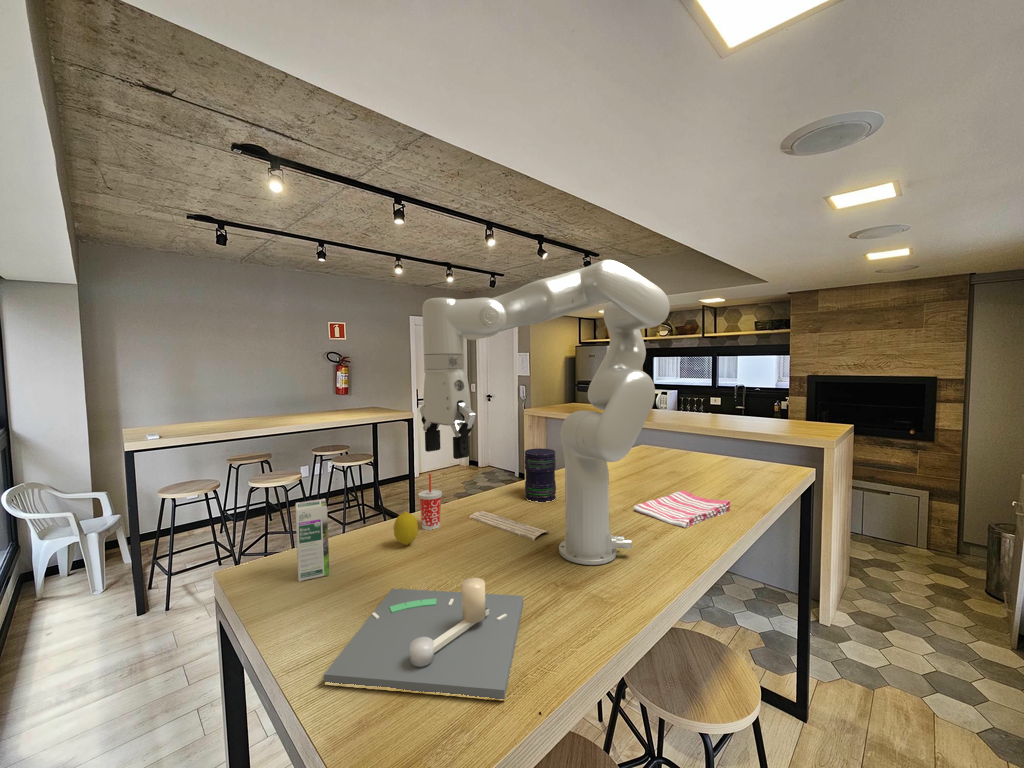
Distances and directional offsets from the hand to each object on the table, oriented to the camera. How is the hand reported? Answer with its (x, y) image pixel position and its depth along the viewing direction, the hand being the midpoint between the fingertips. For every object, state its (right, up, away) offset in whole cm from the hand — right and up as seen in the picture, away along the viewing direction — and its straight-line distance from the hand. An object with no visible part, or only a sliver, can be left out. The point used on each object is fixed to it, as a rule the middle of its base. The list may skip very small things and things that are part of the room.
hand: (446, 454), depth 82 cm
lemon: (-12, -25, +19) cm, 33 cm away
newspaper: (+12, -25, +31) cm, 41 cm away
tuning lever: (+4, -24, -19) cm, 31 cm away
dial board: (+1, -26, -16) cm, 30 cm away
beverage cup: (-9, -24, +30) cm, 40 cm away
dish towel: (+61, -23, +40) cm, 77 cm away
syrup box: (-28, -26, +6) cm, 39 cm away
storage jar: (+22, -23, +54) cm, 62 cm away
